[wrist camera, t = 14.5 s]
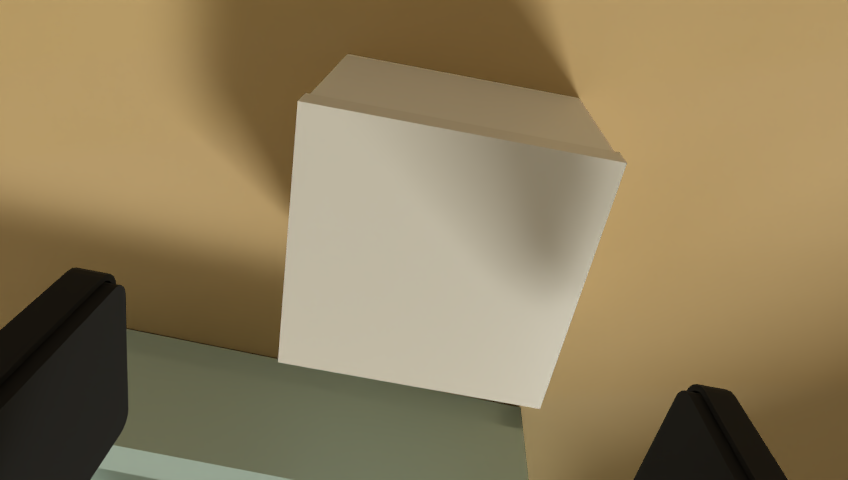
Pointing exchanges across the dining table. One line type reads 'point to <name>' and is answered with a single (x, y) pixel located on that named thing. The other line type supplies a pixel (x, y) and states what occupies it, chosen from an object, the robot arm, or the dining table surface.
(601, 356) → the dining table surface
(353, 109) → the grey block
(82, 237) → the dining table surface
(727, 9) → the dining table surface
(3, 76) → the dining table surface
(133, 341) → the tote
